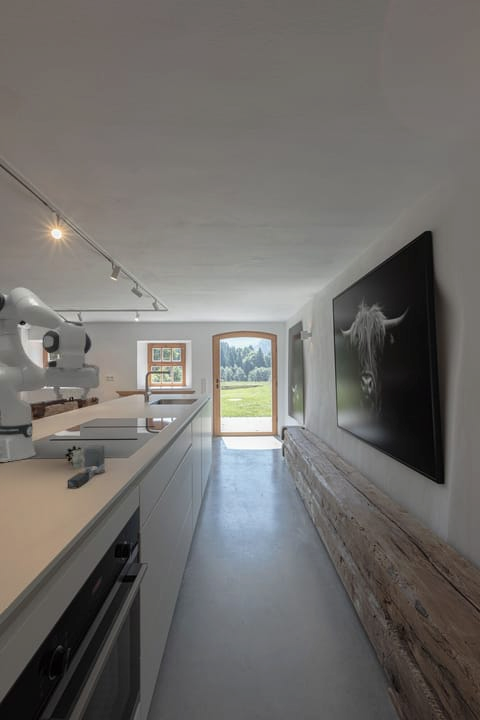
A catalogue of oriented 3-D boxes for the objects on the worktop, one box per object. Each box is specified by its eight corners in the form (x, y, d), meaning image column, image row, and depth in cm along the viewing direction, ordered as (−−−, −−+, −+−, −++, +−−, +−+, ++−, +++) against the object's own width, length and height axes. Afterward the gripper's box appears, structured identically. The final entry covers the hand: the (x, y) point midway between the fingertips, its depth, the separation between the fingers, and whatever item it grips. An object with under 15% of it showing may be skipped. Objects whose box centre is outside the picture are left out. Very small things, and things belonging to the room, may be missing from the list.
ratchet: (62, 488, 111) (62, 469, 111) (90, 469, 131) (90, 453, 131) (82, 488, 111) (82, 469, 111) (107, 469, 131) (107, 453, 131)
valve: (88, 467, 134) (82, 460, 144) (88, 450, 135) (82, 444, 145) (69, 470, 131) (65, 463, 141) (69, 452, 131) (65, 446, 141)
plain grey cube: (84, 466, 125) (84, 448, 125) (91, 462, 130) (90, 445, 130) (98, 466, 125) (98, 448, 125) (104, 462, 130) (104, 445, 130)
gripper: (102, 364, 138) (101, 399, 138) (51, 362, 138) (50, 397, 138) (95, 364, 131) (94, 401, 132) (41, 362, 132) (40, 399, 132)
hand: (71, 399), depth 135 cm, fingers open, 8 cm apart
